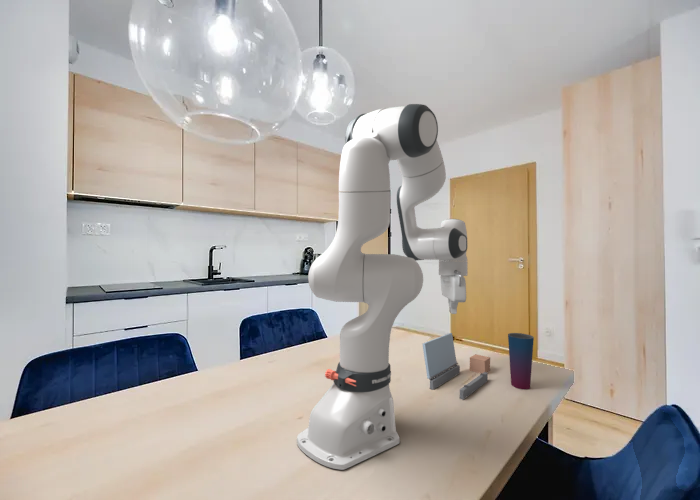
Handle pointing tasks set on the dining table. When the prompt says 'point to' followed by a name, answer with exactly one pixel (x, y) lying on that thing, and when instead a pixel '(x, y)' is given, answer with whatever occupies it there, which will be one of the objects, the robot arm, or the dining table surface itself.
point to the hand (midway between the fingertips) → (452, 313)
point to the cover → (439, 355)
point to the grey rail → (467, 388)
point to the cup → (520, 359)
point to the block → (479, 363)
